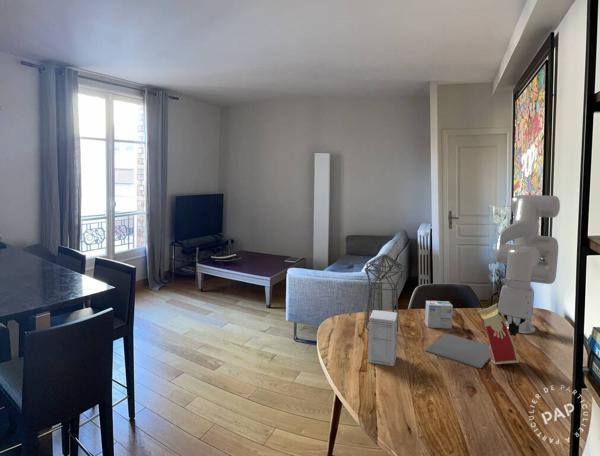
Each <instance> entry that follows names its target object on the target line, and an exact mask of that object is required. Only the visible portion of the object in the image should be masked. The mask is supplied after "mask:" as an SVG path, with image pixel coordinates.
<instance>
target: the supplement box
mask: <svg viewBox="0 0 600 456" xmlns="http://www.w3.org/2000/svg"><path fill="white" fill-rule="evenodd" d="M372 310H373V309H372ZM397 315H398V316H399V312H398V313H396V312H395V311H394V312H392V311H387V310H377V309H374V310H373V311H372V313H371V316H370V315H369V322H368V328H369V331H368V339H367V340H368V345H367V346H368V349H367V351H368V352H367V363H369V364H370V363H371V364H376V365H383V366H389V367H394V366H395V363H396V359H397V351H398V350H397V348H398V347H397V343H398V332H397Z"/></svg>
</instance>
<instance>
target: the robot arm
mask: <svg viewBox="0 0 600 456" xmlns="http://www.w3.org/2000/svg"><path fill="white" fill-rule="evenodd" d="M510 207H511V212H512V214H513V220H512V223H511V224H510V225H508V226H507V227H505V228H504V229H503V230H501V232H500V233H499V234H498V236H497V239H496V243H495V247H494V260H495V261H496V262H497V263H498V264H501V265H506V268H505V269H506V271H505V272H506V273H505V277H501V278H500V282H501V283H504V284H503V285H502V286H501V290H500V293H499V299H498V304H497V310H498V314H499V315H500V316H501V317H502V318H504V319H505V320H506V321H504V322H505V323H506V325H507V328H508V331H509V332H510V335H511V336H513V337H516V336H517V334H523V335H525V334H528V335H529V334H534V333H535V332H536V328H535V327H534V326H533V325H532V323H533V312H534V304H535V303H534V300H535V291H534V288H533V287H532V286H531V283H536V284H537V283H538V284H542V285H543V284H544V285H551V284H554V282H556V278H557V271H558V270H557V269H558V261H559V259H558V257H559V242H558V240H557V238H555V237H553V236H549V235H548V236H545V235H540V234H539V233H540V231H539V230H540V218H556V217H557V216H558V215H559V212H560V208H561V202H560V199H559V197H558V196H557V195H537V194H535V195H534V194H519V195H515V196H513V197H512V198H511V200H510ZM513 240H515V242H514V244H509V242H511V241H513ZM541 259H543V260H544V261H543V260H541Z"/></svg>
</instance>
